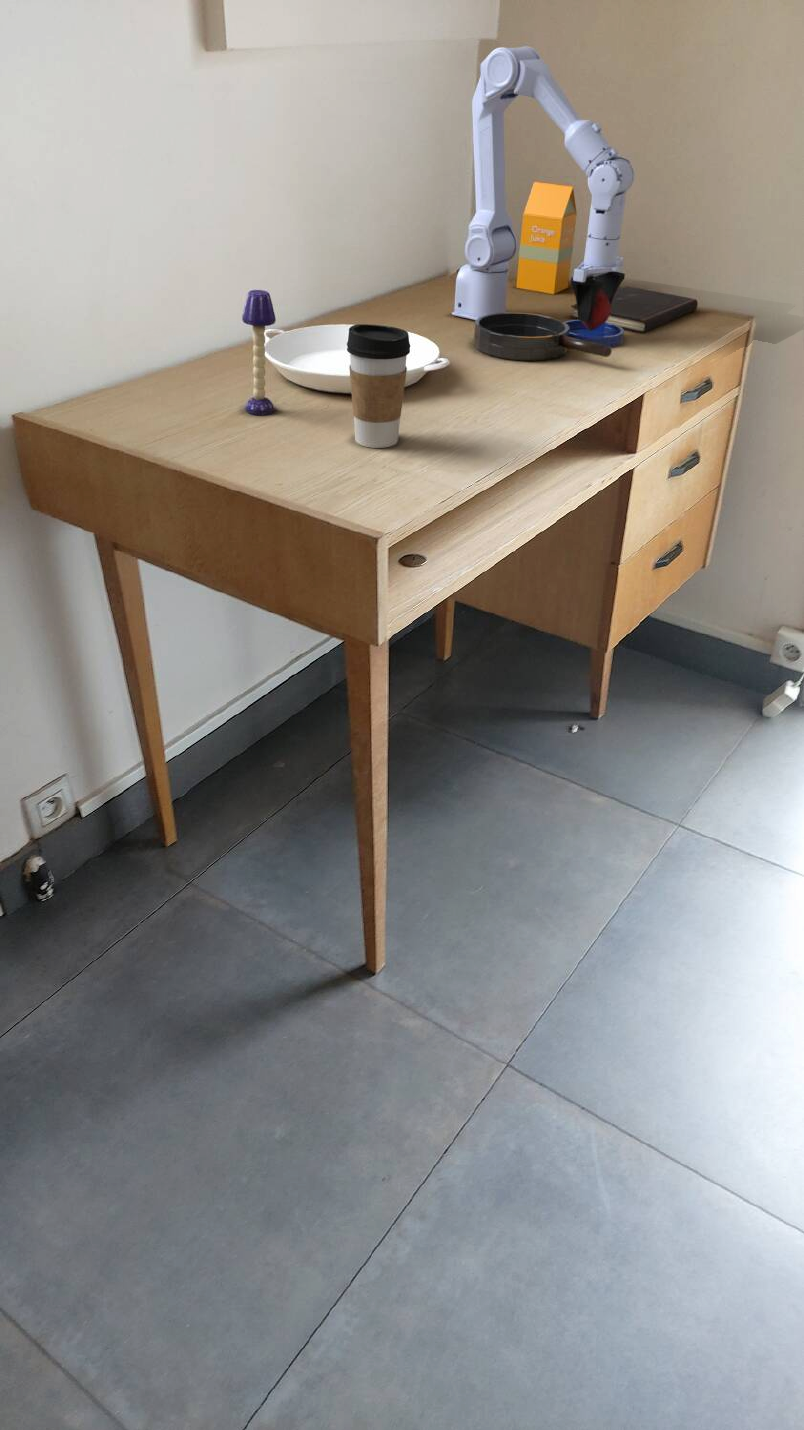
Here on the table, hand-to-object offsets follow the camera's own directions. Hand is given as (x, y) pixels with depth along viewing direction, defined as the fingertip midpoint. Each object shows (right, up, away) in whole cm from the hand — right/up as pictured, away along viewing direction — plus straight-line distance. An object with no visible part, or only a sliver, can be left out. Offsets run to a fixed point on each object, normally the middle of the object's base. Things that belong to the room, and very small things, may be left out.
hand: (592, 317), depth 190 cm
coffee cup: (-38, -34, -44) cm, 68 cm away
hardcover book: (+11, +7, +17) cm, 22 cm away
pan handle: (-4, -10, -12) cm, 16 cm away
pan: (-43, -17, -20) cm, 50 cm away
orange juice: (-5, +19, +33) cm, 39 cm away
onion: (0, -2, +1) cm, 3 cm away
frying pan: (-14, -7, -5) cm, 16 cm away
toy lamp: (-55, -28, -36) cm, 71 cm away
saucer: (0, -3, +2) cm, 4 cm away
